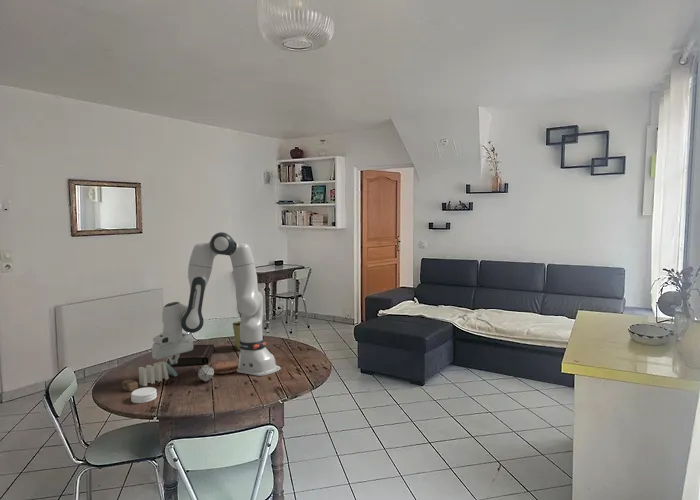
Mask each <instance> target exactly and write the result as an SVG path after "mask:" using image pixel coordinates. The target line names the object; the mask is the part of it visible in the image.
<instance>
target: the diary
mask: <svg viewBox="0 0 700 500" xmlns="http://www.w3.org/2000/svg"><path fill="white" fill-rule="evenodd" d="M215 350H216V349H215V344H213V343H212V344H193V350H192V351H188V352H184V353H180V356H179V358H178V363H176V364H173V367H175V368H176V367H187V366H188V367H190V366H197V365H203V366H204V365H208V364H209V362H210V360H211V358H212V356H213V354H214V352H215ZM174 359H175V355H173V358H172V360H174ZM173 367H172V368H173Z"/></svg>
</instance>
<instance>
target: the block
mask: <svg viewBox="0 0 700 500" xmlns="http://www.w3.org/2000/svg"><path fill="white" fill-rule="evenodd" d="M122 389H123V390H126V391H128V392H130V393H132V392H133V391H134V390H137V389H139V381H138V382H137V381H135V380H133V379H127V380H122ZM131 391H132V392H131Z"/></svg>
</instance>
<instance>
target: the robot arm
mask: <svg viewBox="0 0 700 500" xmlns="http://www.w3.org/2000/svg"><path fill="white" fill-rule="evenodd" d="M218 255H220V256H221V255H222V256H228V257H229V258H230V262H231V265H232V266H231V267H232V272H233V276H234V277H233V278H234V283H235V284H234V285H235V287H234V288H235V299H236V309H237V310H236V311H237V313H238V312H239V313H240V314H241V319H240V321H241V322H240V343H239V345H240V348H241V350H239V355H238V367H237V369H236V372H237V373H241V374H245V375H246V374H247V375H252V376H259V377H263V376H268V375H271V374H274V373H277V372H279V371H280V370H281V369H282V368H281V366H279V365H277V364H276V359H275V358H276V357H275V356H274V355H273V354H272V353H271V352H270V351H269V349H267V347H266V345H267V342H266V341H265V340H264V338H263V336H264V335H263V317H264V315H263V314H264V297H263V294H262V292H261V291H259V289H258V275H257V269H256V263H255V259H254V254H253V252H252V249H251V246H250V244H248V243H245V242H236V241H235V240H234V239H233V237H232V236H231V234H229V233H228V232H224V231H220V232H217V233H214V235H213V236H212V237H211V239H210V241H209V242H200V243H196V244H195V245H194V247H193V248H192V251H191V255H190V256H189V257H190V258H189V261H188V262H189V263H188V269H187V278H188V283H189V284H188V285H189V298H188V303H187V305H184V304H182V303H180V302H179V301H173V302H169V303H166V304H165V305H164V306H163V308H162V311H161V312H162V314H161V316H162V317H161V318H162V319H161V320H162V321H161V322H162V324H163V326H162V327H163V329H162V332H161V333H160V334H158V335H156V336H154V337H153V338H152V342H153V344H152V346H151V356H152V358H153V359H154V360H161V359H165V358H167V359H168V360H169V365H170V366H172V365H173V366H174V365H175V364H176V363H178V358H179V356H180V353H184V352H188V351H192V350H193V345H194V341H193V334H194V333H197V332H199V331H201V329H203V327H204V324H205V323H204V317H203V313H202V309H203V301H204V297H205V291H206V288H207V285H208V282H209V280H210V278H211V274H212V270H213V265H214V259H215V258H216V257H217V256H218ZM240 314H239V315H240ZM183 330H184V331H185V332H184V333H183ZM174 356H175V359H173V357H174ZM238 368H239V369H238Z"/></svg>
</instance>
